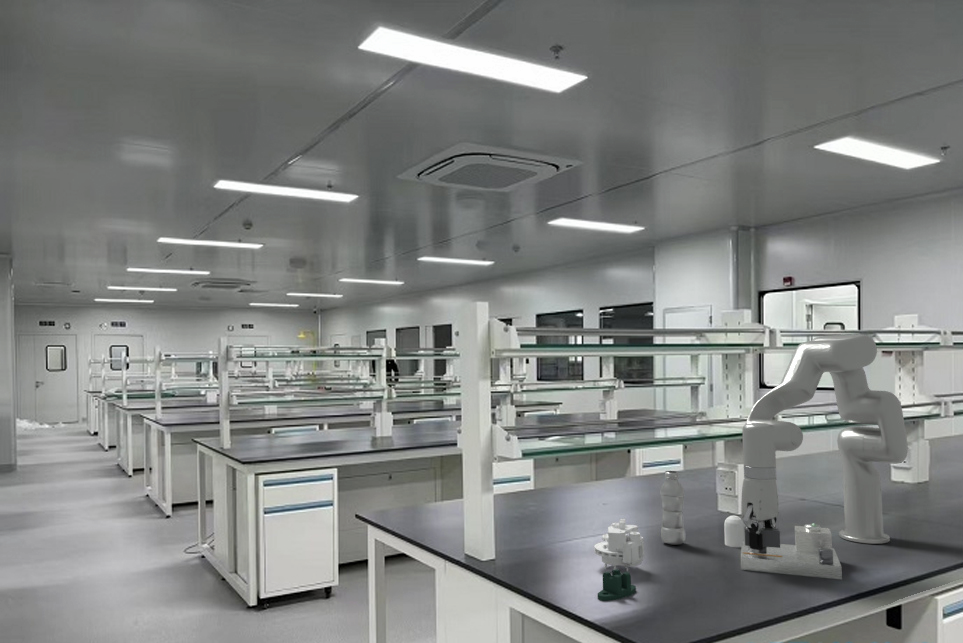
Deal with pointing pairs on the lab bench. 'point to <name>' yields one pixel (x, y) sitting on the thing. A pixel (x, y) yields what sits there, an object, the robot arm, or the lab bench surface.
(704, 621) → the lab bench surface
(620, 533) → the mechanical part
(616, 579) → the mount
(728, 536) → the capsule
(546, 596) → the lab bench surface
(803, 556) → the levelling base
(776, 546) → the block
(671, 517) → the plastic bottle
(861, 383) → the robot arm
